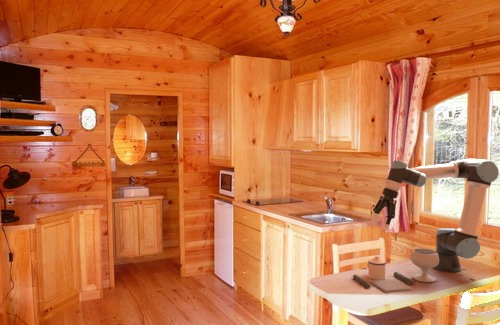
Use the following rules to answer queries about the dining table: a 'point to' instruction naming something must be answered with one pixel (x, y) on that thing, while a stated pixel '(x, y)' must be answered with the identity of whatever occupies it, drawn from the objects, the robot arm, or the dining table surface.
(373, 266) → the teacup with lid
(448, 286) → the dining table surface
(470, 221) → the robot arm
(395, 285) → the slate tile
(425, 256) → the chalice
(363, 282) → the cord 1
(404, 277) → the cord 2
